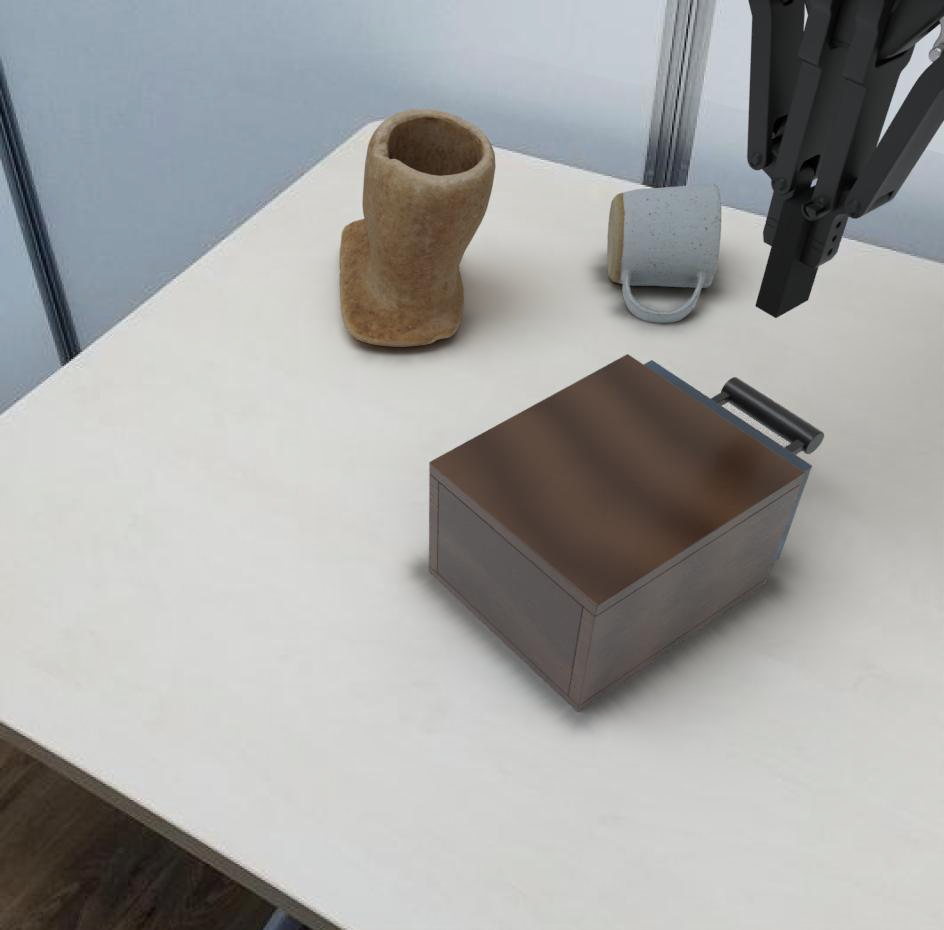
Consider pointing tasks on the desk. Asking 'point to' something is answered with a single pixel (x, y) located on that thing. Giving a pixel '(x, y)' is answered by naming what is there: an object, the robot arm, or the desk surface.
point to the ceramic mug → (664, 243)
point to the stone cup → (414, 228)
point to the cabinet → (606, 525)
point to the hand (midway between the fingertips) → (781, 302)
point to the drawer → (767, 415)
